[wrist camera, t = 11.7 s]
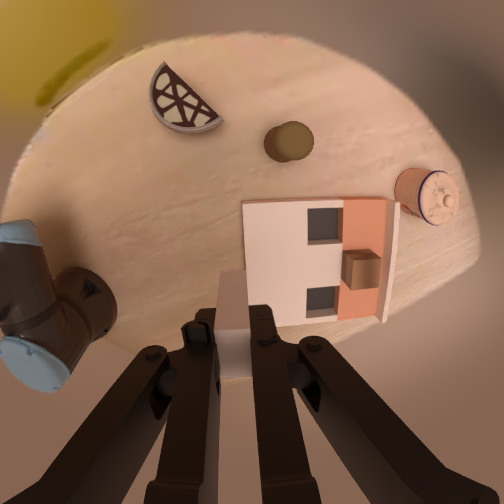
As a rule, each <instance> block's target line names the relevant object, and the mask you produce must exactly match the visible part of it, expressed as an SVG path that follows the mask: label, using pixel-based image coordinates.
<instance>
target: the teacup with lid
mask: <svg viewBox="0 0 504 504" xmlns="http://www.w3.org/2000/svg"><path fill="white" fill-rule="evenodd" d="M395 197H396V200H397V202H400V208H401V209H402V210H403V211H405V212H406V213H409V214H411V215H413V216H416V217H418V218H421V219H423V220H425V221H427V222H428V223H429V224H431V225H436V226H438V225H443V224H445V223H447V222H448V221H450V220H451V219H452V218H453V216H454V215H455V213H456V210H457V208H458V205H459V203H460V199H459V191H458V187H457V184H456V182H455V181H454V179H453V178H452V177H451V176H450V175H449V174H448V173H446V172H444V171H430V170H423V169H416V168H411V169H408V170H406V171H404V172H403V173H402V174H401V175H400V176H399V178H398V180H397V183H396V186H395Z"/></svg>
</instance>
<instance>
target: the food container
mask: <svg viewBox="0 0 504 504" xmlns="http://www.w3.org/2000/svg"><path fill="white" fill-rule="evenodd" d="M149 101H150V105H151V108H152V110H153V112H154V114H155V116H156V117H157V119H158V120H159V121H160V122H161V123H162V124H163V125H165V126H166V127H168V128H169V129H171V130H174V131H176V132H180V133H188V134H194V133H201V132H205V131H208V130H211V129H213V128H215V127H217V126H218V125H220V124H221V123H223V122H224V120H223V118H222V117H221V116H218V115H217V113H216V112H214V111H213V110H212V109H211V108H210V107H209V106H208V105H207V104H206V103H205V102H204V101H203V100H202V99H201V98H200V96H198V95H197V94H196V93H195V92H194V91H193V90H192V88H190V87H189V86H188V85H187V84H186V83H185V82H184V81H183V80H182V79H181V78H180V77H179V76H178V75H177V74H176V73H175V72H173V71H172V70H171V69H170V67H169V66H168V65H167V64H166V63H165V61H163V63H162V64H161V65H160V66H159V67H158V68H157V70H156V71H155V73H154V75H153V77H152V79H151V82H150V86H149Z"/></svg>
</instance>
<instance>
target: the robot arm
mask: <svg viewBox="0 0 504 504" xmlns="http://www.w3.org/2000/svg"><path fill="white" fill-rule="evenodd" d="M116 316H117V306H116V302H115V299H114V296H113V294H112V292H111V290H110V289H109V287H108V286H107V284H106V283H105V282H104V281H103V280H102V279H101V278H100V277H99V276H97V275H96V274H95V273H93V272H91V271H89V270H87V269H84V268H77V267H76V268H69V269H67V270H65V271H64V272H62V273H61V274H60V275H59V276H57V277H56V279H55V280H54V282H53V280H52V277H51V274H50V271H49V268H48V265H47V261H46V258H45V255H44V251H43V244H42V243H41V241H40V238H39V235H38V232H37V228H36V226H35V224H34V223H33V222H32V221H31V220H28V219H22V220H16V221H11V222H7V223H2V224H0V328H1V330H2V332H3V334H4V337H3V338H2V339H1V341H0V356H1V358H2V360H3V362H4V364H5V365H6V367H7V368H8V369H9V370H10V372H11V373H12V374H13V375H14V376H15V377H16V378H17V379H19V380H20V381H21V382H23V383H24V384H26V385H27V386H29V387H30V388H33V389H34V390H37V391H40V392H43V393H53V392H56V391H58V390H59V389H60V388H61V387H62V385H63V384H64V383H65V381H66V380H68V379H69V377H70V375H71V373H72V372H73V370H74V368H75V367H76V365H77V363H78V362H79V360H80V358H81V357H82V355H83V354H84V352H85V351H86V349H87V347H88V346H89V344H90V343H92V342H94V341H96V340H98V339H100V338H101V337H103V336H105V335H106V334H107V333H108V332H109V331H110V329H111V328H112V326H113V325H114V323H115V320H116ZM181 330H182V335H183V340H184V347H183V348H181V349H179V350H176V351H172V352H167V349H166V348H164V347H163V346H159V345H152V346H148V347H146V348H143V349H142V350H141V351H140V352H139V353H138V354H137V356H136V357H135V358H134V359H133V361H132V362H131V363H130V364H129V366H128V367H127V368H126V369H125V371H124V372H123V373H122V374H121V375H120V377H119V378H118V379H117V380H116V382H115V383H114V384H113V385H112V387H111V388H110V389H109V390H108V392H107V393H106V394H105V396H104V397H103V398H102V399H101V400H100V402H99V403H98V404H97V405H96V407H95V408H94V409H93V411H92V412H91V413H90V414H89V416H88V417H87V418H86V420H85V421H84V422H83V423H82V425H81V426H80V427H79V429H78V430H77V431H76V432H75V434H74V435H73V436H72V438H71V439H70V440H69V441H68V443H67V444H66V446H65V447H64V448H63V449H62V451H61V452H60V453H59V455H58V456H57V457H56V459H55V460H54V461H53V463H52V464H51V465H50V467H49V468H48V469H47V471H46V472H45V473H44V475H43V476H42V478H41V479H40V480H39V481H38V482H36V483H35V484H33V485H32V486H30V487H29V488H27V489H25V490H24V491H22V492H21V493H19V494H17V495H16V496H14V497H13V498H11V499H9V500H8V501H6V502H4V503H3V504H121V503H122V501H123V499H124V497H125V496H126V494H127V492H128V490H129V488H130V487H131V485H132V483H133V481H134V479H135V478H136V476H137V474H138V472H139V470H140V468H141V467H142V465H143V463H144V461H145V459H146V457H147V456H148V454H149V452H150V450H151V448H152V446H153V445H154V443H155V441H156V439H157V437H158V435H159V434H160V432H161V430H162V428H163V426H164V424H165V423H166V421H167V423H166V428H165V433H164V438H163V443H162V448H161V454H160V459H159V464H158V470H157V475H156V478H155V480H153V481H150V482H149V483H148V485H147V489H146V493H145V498H144V504H218V458H219V425H220V397H221V383H220V375H221V378H235V377H252V376H253V390H254V403H255V416H256V429H257V442H258V454H259V467H260V478H261V490H262V503H263V504H322V503H321V499H320V494H319V490H318V485H317V482H316V480H315V478H314V477H312V475H311V472H310V467H309V463H308V458H307V454H306V449H305V444H304V440H303V435H302V431H301V426H300V422H299V417H298V413H297V408H296V404H295V400H294V395H293V390H292V388H296V390H297V392H298V394H299V396H300V397H301V399H302V400H303V402H304V404H305V405H306V407H307V408H308V410H309V412H310V413H311V415H312V416H313V418H314V419H315V421H316V423H317V424H318V425H319V427H320V429H321V430H322V432H323V433H324V435H325V436H326V438H327V439H328V441H329V442H330V444H331V445H332V447H333V448H334V450H335V452H336V453H337V455H338V456H339V457H340V459H341V461H342V462H343V464H344V465H345V467H346V468H347V470H348V471H349V473H350V474H351V475H352V477H353V478H354V480H355V481H356V483H357V484H358V486H359V487H360V488H361V490H362V491H363V493H364V494H365V496H366V497H367V499H368V500H369V502H370V503H371V504H500V502H499V496H498V494H497V492H496V491H494V490H493V489H492V488H490V487H487V486H485V485H483V484H480V483H478V482H475V481H473V480H471V479H469V478H467V477H465V476H462V475H460V474H458V473H456V472H454V471H452V470H450V469H448V468H446V467H445V466H444V465H443V464H442V463H441V462H440V461H439V460H438V459H437V458H436V457H435V455H433V453H432V452H431V451H430V450H429V449H428V448H427V447H426V446H425V445H424V444H423V443H422V442H421V440H419V438H418V437H417V436H416V435H415V434H414V433H413V432H412V431H411V430H410V429H409V428H408V427H407V426H406V425H405V423H404V422H403V421H402V420H401V419H400V418H399V417H398V416H397V415H396V414H395V413H394V412H393V410H392V409H391V408H390V407H389V406H388V405H387V404H386V403H385V402H384V401H383V400H382V399H381V398H380V396H379V395H378V394H377V393H376V392H375V391H374V390H373V389H372V388H371V387H370V386H369V385H368V384H367V383H366V381H365V380H364V379H363V378H362V377H361V376H360V375H359V374H358V373H357V372H356V371H355V370H354V369H353V367H352V366H351V365H350V364H349V363H348V362H347V361H346V360H345V359H344V358H343V357H342V355H341V354H340V353H339V352H338V351H337V350H336V349H335V348H334V347H333V346H332V345H331V344H330V342H329V341H328V340H326V339H325V338H323V337H320V336H307V337H305V338H303V339H301V340H300V341H299V344H292V343H287V342H285V341H283V340H281V338H280V336H279V335H278V334H277V329H276V325H275V320H274V316H273V311H272V308H271V307H270V306H268V305H267V304H261V305H248V296H247V283H246V270H230V271H221V275H220V283H219V291H218V299H217V307H216V308H205V309H200V310H199V311H198V312H197V313H196V315H195V320H193V321H190V322H187V323H186V324H184V325H183V326H182V328H181Z"/></svg>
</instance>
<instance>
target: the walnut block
mask: <svg viewBox="0 0 504 504" xmlns="http://www.w3.org/2000/svg"><path fill="white" fill-rule="evenodd" d="M381 262H382V258H381V257H379V256H378V255H377V254H376V253H374V252H373V251H372V250H370V249H357V250H343V252H342V269H341V279H342V280H343V281H344V283H345V284H346V285H347V286H348V288H349V289H350V290H351V291H352V290H361V289H370V288H378V287H379V280H380V271H381Z"/></svg>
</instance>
